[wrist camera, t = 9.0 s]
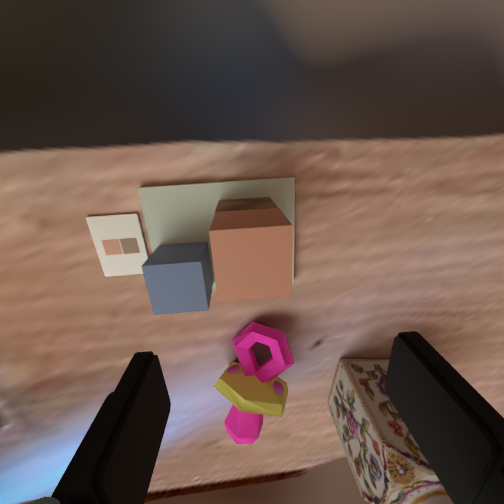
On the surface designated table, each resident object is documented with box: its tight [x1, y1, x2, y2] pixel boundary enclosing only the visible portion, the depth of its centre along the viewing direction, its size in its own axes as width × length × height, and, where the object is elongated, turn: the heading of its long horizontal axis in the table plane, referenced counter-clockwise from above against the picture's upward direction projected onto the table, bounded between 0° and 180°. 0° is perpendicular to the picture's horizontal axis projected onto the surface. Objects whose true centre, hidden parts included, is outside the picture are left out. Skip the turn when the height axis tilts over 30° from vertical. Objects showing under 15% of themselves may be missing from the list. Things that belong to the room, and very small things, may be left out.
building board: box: [137, 177, 295, 290], centre depth 30 cm, size 18×14×1 cm
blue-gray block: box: [141, 242, 213, 315], centre depth 28 cm, size 6×6×6 cm
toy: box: [214, 322, 294, 444], centre depth 35 cm, size 10×18×10 cm, turn 165°
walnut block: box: [215, 197, 278, 212], centre depth 26 cm, size 6×6×6 cm
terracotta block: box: [209, 208, 293, 302], centre depth 21 cm, size 6×6×6 cm
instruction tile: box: [86, 213, 149, 277], centre depth 30 cm, size 6×8×1 cm
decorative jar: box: [328, 359, 454, 504], centre depth 34 cm, size 12×12×18 cm
